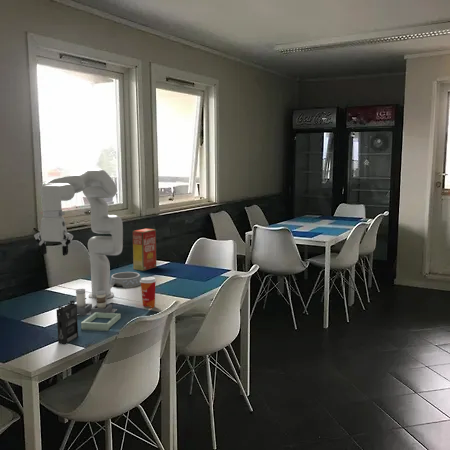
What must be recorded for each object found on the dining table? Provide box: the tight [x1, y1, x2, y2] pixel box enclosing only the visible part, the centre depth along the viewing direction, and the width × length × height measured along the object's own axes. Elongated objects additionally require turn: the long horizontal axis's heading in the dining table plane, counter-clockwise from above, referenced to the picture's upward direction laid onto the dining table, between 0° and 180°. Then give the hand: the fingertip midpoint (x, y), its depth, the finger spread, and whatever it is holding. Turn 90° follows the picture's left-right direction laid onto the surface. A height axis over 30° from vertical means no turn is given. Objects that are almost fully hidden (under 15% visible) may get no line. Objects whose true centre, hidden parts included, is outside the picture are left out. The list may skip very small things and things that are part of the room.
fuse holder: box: [77, 302, 118, 316], centre depth 234 cm, size 10×22×4 cm, turn 80°
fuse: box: [75, 288, 87, 308], centre depth 234 cm, size 4×4×10 cm
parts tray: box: [80, 312, 122, 332], centre depth 218 cm, size 14×12×3 cm
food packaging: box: [132, 227, 157, 272], centre depth 324 cm, size 13×9×25 cm
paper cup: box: [140, 276, 157, 309], centre depth 243 cm, size 8×8×14 cm
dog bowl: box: [110, 271, 142, 289], centre depth 287 cm, size 17×18×5 cm
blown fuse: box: [96, 290, 107, 309], centre depth 232 cm, size 4×4×10 cm
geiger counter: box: [56, 300, 79, 346], centre depth 200 cm, size 10×4×15 cm, turn 163°
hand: (54, 254), depth 213 cm, fingers open, 9 cm apart
